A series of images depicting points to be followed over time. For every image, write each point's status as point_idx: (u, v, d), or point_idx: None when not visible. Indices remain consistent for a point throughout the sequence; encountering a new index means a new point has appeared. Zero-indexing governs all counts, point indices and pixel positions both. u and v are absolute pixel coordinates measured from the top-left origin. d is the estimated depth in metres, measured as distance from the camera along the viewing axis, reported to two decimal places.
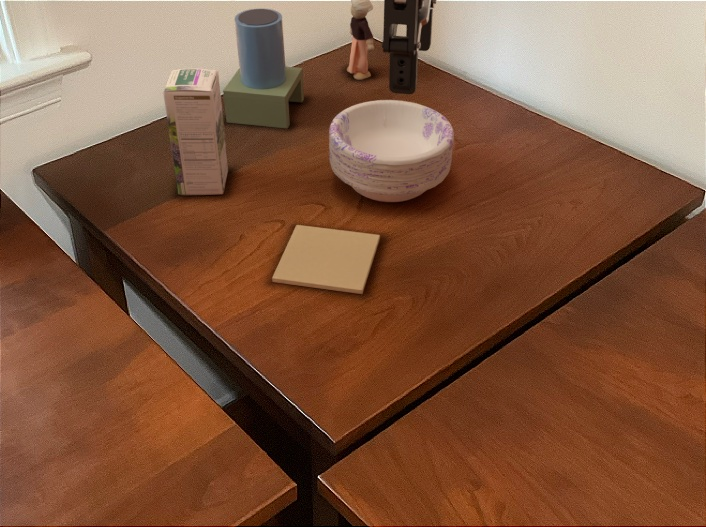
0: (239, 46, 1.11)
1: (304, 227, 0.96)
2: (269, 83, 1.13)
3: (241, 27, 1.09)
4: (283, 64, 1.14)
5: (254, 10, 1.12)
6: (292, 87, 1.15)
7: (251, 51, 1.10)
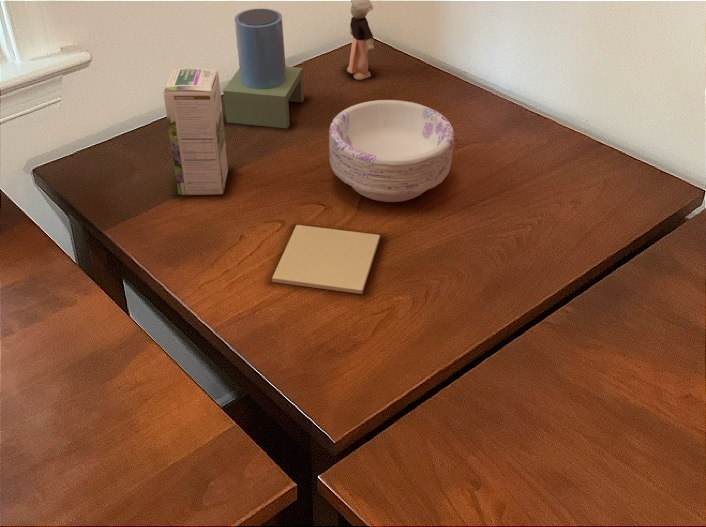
0: (239, 46, 1.11)
1: (304, 227, 0.96)
2: (269, 83, 1.13)
3: (241, 27, 1.09)
4: (283, 64, 1.14)
5: (254, 10, 1.12)
6: (292, 87, 1.15)
7: (251, 51, 1.10)
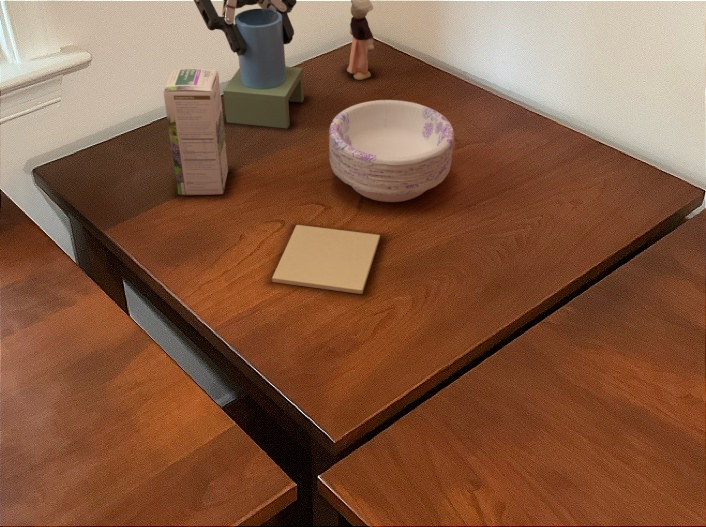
0: None
1: (304, 227, 0.96)
2: (269, 83, 1.13)
3: (241, 27, 1.09)
4: (283, 64, 1.14)
5: (254, 10, 1.12)
6: (292, 87, 1.15)
7: (251, 51, 1.10)
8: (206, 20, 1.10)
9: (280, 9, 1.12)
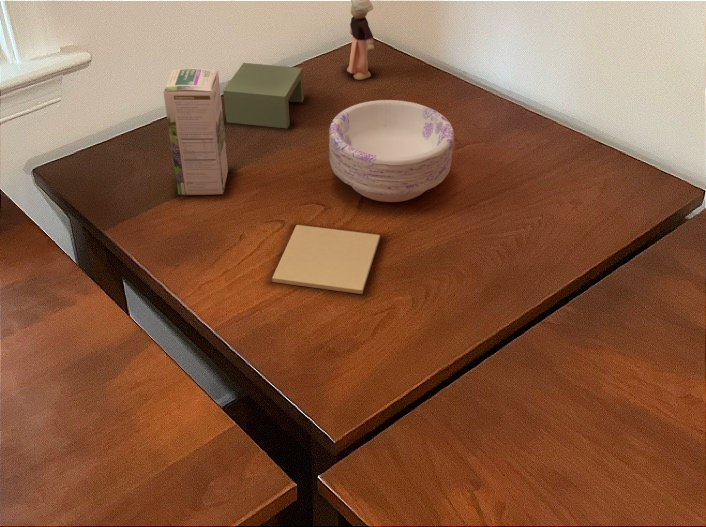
0: None
1: (304, 227, 0.96)
2: None
3: None
4: None
5: None
6: (292, 87, 1.15)
7: None
8: None
9: None
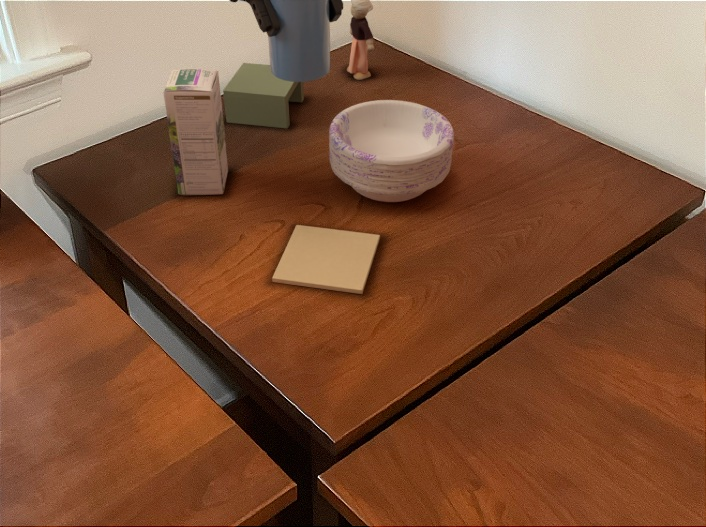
0: None
1: (304, 227, 0.96)
2: (309, 74, 0.84)
3: None
4: (328, 49, 0.85)
5: None
6: (292, 87, 1.15)
7: (287, 30, 0.81)
8: None
9: None
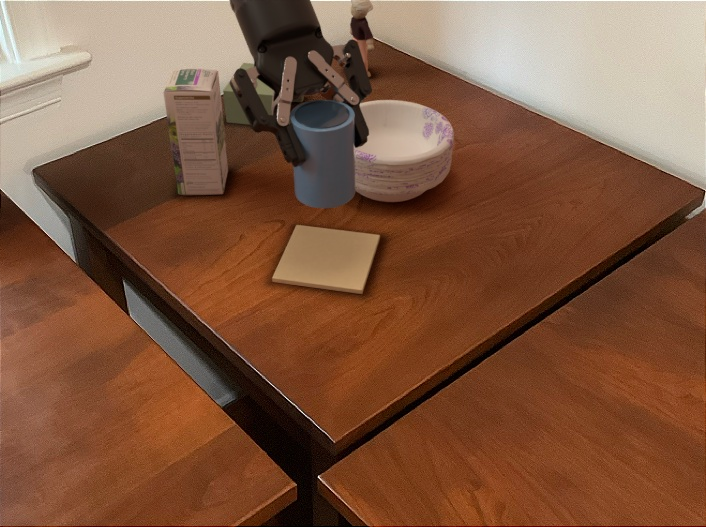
0: None
1: (304, 227, 0.96)
2: (335, 201, 0.83)
3: (300, 131, 0.79)
4: (353, 174, 0.84)
5: (315, 103, 0.82)
6: None
7: (312, 161, 0.80)
8: (251, 119, 0.80)
9: (351, 101, 0.82)
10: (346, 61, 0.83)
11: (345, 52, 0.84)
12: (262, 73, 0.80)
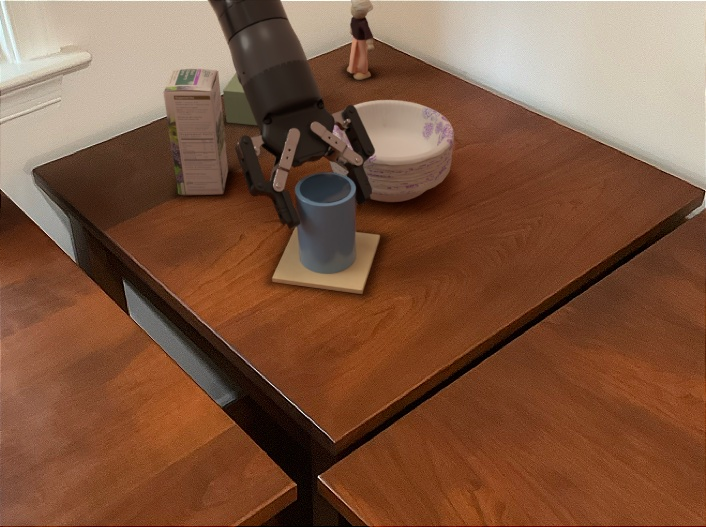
0: (300, 224, 0.87)
1: None
2: (337, 267, 0.89)
3: (305, 204, 0.84)
4: (354, 242, 0.89)
5: (319, 176, 0.87)
6: None
7: (316, 232, 0.86)
8: (249, 183, 0.85)
9: (355, 162, 0.87)
10: (347, 126, 0.89)
11: (344, 117, 0.89)
12: (266, 142, 0.85)
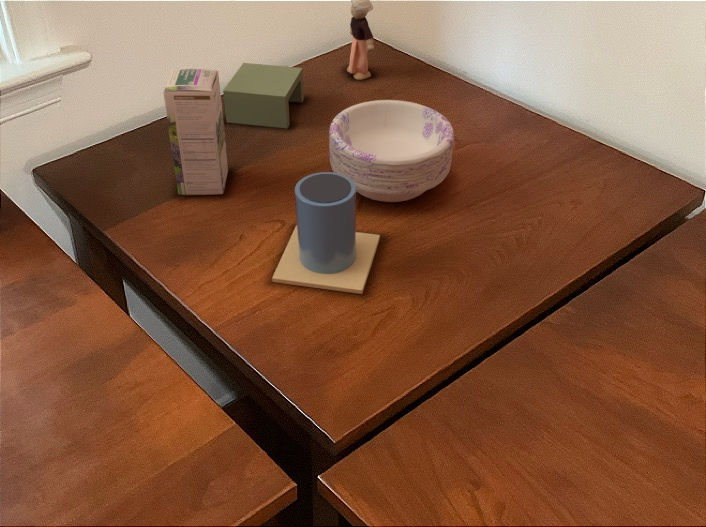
0: (300, 224, 0.87)
1: None
2: (337, 267, 0.89)
3: (305, 204, 0.84)
4: (354, 242, 0.89)
5: (319, 176, 0.87)
6: (292, 87, 1.15)
7: (316, 232, 0.86)
8: None
9: None
10: None
11: None
12: None
